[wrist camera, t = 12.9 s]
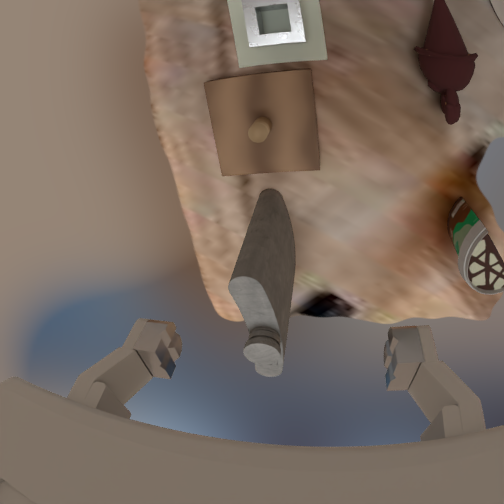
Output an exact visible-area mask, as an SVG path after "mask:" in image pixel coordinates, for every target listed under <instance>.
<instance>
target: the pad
mask: <svg viewBox="0 0 504 504" xmlns="http://www.w3.org/2000/svg"><path fill="white" fill-rule="evenodd" d="M227 1H228V7H229V12H230V18H231V23H232V29H233V34H234V40H235V46H236V52H237V57H238V63H239V68H243V67H250V66H257V65H265V64H275V63H285V62H297V61H313V60H328V59H327V51H326V44H325V36H324V29H323V22H322V16H321V10H320V3H319V0H299V1H300V7H301V13H302V19H303V26H304V32H305V39H306V43H297V44H285V45H275V46H266V47H258V48H252V47H249V42H248V36H247V30H246V24H245V18H244V12H243V7H242V1H241V0H227ZM261 16H262V22H263V28H264V34H272V33H282V32H292V30H291V24H290V18H289V12H288V9H280V10H271V11H263V12H261Z"/></svg>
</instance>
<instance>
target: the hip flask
mask: <svg viewBox="0 0 504 504" xmlns="http://www.w3.org/2000/svg"><path fill="white" fill-rule="evenodd" d="M294 274H295V244H294V237H293V231H292V226H291V222H290V218H289V214H288V211H287V208H286V205H285V202H284V200H283V197H282V195H281V194H280V193H279V192H278V191H276V190H274V189H266V190H264V191H262V192H261V194H260V196H259V199H258V202H257V204H256V207H255V210H254V213H253V216H252V219H251V222H250V224H249V227H248V230H247V233H246V236H245V239H244V242H243V245H242V248H241V250H240V253H239V256H238V259H237V262H236V265H235V268H234V271H233V274H232V277H231V280H230V282H229V286H228V288H229V292H230V294H231V295H232V297H233V299H234V300H235V302H236V304H237V306H238V308H239V310H240V312H241V314H242V316H243V318H244V320H245V323H246V325H247V328H248V331H249V334H250V335H249V339H248V341H247V342H246V344H245V347H244V355H245V357H246V358H247V359H248V360H250V361H252V362H254V363H255V370H256V371H257V372H258V373H259V374H261V375H264V376H267V377H274V376H278V375H280V374H281V373H282V369H283V362H284V355H285V347H286V340H287V332H288V324H289V317H290V308H291V300H292V292H293V283H294Z"/></svg>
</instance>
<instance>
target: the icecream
mask: <svg viewBox="0 0 504 504" xmlns="http://www.w3.org/2000/svg"><path fill="white" fill-rule="evenodd" d="M414 50H415V51H416V52H417V53H419V57H418V59H419V63H420V67H421V70H422V71H423V73H424V75H425V77H426V78H427V79H428V86H429V87H430V88H431V89H433V90H434V91H436V92H439V93H441V107H442V111H443V113H444V114H445V118H446V121H447V123H448V124H454V123H455V122H457V121H458V120H459V117H460V110H461V107H460V104H459V99H458V95H457V93H456V91H460V90H463V89H464V88H465V87H466V86H467V85H468V84H469V82H470V80H471V77H472V75H473V72H474V69H475V62H474V61H475V59H476V58H477V57H478V55H477V54H476V53H474V54H468V52H467V50H466V47H465V45H464V42H463V40H462V37H461V35H460V33H459V30H458V28H457V26H456V24H455V21H454V19H453V17H452V15H451V13H450V11H449V9H448V7H447V5H446V3H445V1H444V0H434V5H433V10H432V14H431V19H430V23H429V27H428V31H427V35H426V39H425V43H424V47H422V48H420V47H417V46H416V47H415V48H414Z"/></svg>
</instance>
